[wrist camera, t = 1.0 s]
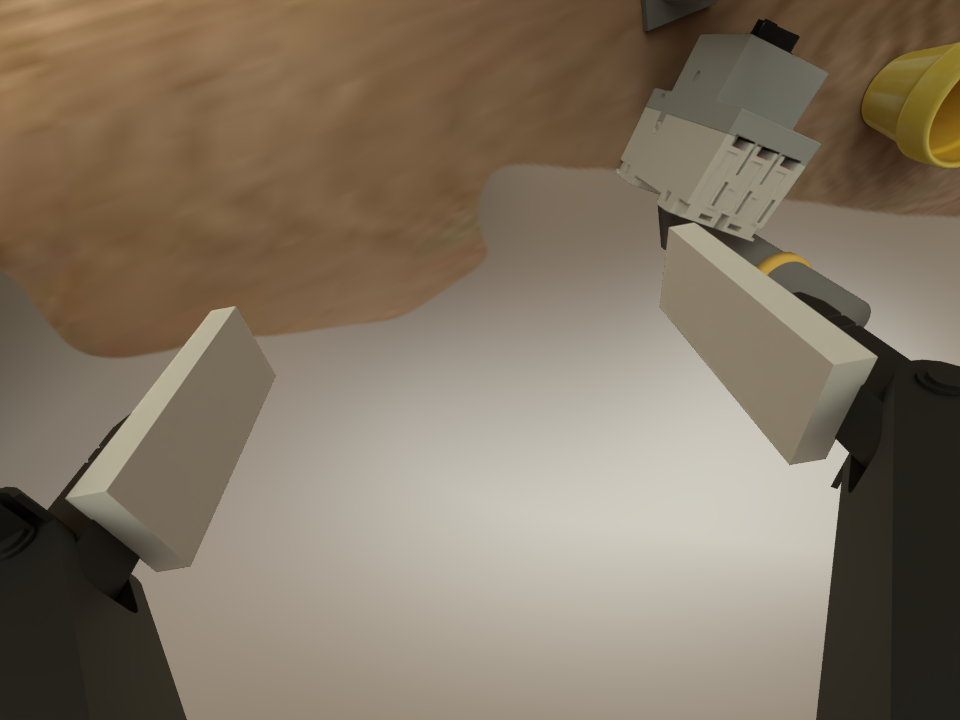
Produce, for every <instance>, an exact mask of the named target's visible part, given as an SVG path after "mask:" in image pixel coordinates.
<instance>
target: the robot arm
mask: <svg viewBox="0 0 960 720" xmlns="http://www.w3.org/2000/svg"><path fill="white" fill-rule="evenodd" d="M660 308H661V309H662V310H663V312H664V313H665V314H666V315H667V316H668V318H669V319H670V320H671V321H672V323H673V324H674V325H675V326H676V327H677V329H678V330H679V331H680V332H681V334H682V335H683V336H684V337H685V338H686V340H687V341H688V342H689V343H690V344H691V346H692V347H693V348H694V349H695V350H696V352H697V353H698V354H699V355H700V357H701V358H702V359H703V360H704V362H705V363H706V364H707V365H708V366H709V368H710V369H711V370H712V371H713V372H714V373H715V375H716V376H717V377H718V379H719V380H720V381H721V382H722V383H723V384H724V386H725V387H726V388H727V389H728V391H729V392H730V393H731V394H732V396H733V397H734V398H735V399H736V400H737V402H738V403H739V404H740V405H741V406H742V408H743V409H744V410H745V411H746V412H747V414H748V415H749V416H750V417H751V419H752V420H753V421H754V422H755V424H756V425H757V426H758V427H759V428H760V430H761V431H762V432H763V433H764V434H765V436H766V437H767V438H768V439H769V441H770V442H771V443H772V444H773V445H774V447H775V448H776V449H777V450H778V451H779V453H780V454H781V455H782V456H783V457H784V459H785V460H786V461H787V462H788V463H789V465H792V464H798V463H804V462H810V461H815V460H822V459H826V457H827V455H828V453H829V451H830V449H831V447H832V446H833V444H834V442H835V440H836V439H837V440H838V441H839V442H840V443H841V444H842V445H843V446H844V448H845V449H846V450H847V451H848V452H849V455H848V456H847V458H846V460H845V462H844V463H843V466H842V467H841V469H840V471H839V472H838V474H837V476H836V478H835V480H834V482H833V484H832V485H831V487H833V488H836V489H838V487H839V485H840V484H841V493H840V502H839V511H838V520H837V530H836V540H835V549H834V558H833V567H832V577H831V586H830V595H829V605H828V615H827V624H826V633H825V642H824V652H823V661H822V671H821V680H820V689H819V699H818V708H817V718H816V720H960V366H956V365H952V364H949V363H945V362H941V361H931V360H914V361H910V360H909V359H908V358H906V357H905V356H903V355H902V354H900V353H899V352H897V351H896V350H895V349H893V348H892V347H890V346H889V345H887V344H886V343H884V342H883V341H882V340H880V339H879V338H877V337H876V336H874V335H873V334H871V333H870V332H868V331H867V330H865V329H864V328H863V327H861V326H860V325H859V326H856V322H854V321H853V320H851V319H850V318H848V317H847V316H845V315H843V316H842V315H841V312H840V311H838V310H837V309H835V308H834V307H832V306H831V305H829V304H828V303H827V302H825V301H824V300H821V299H818V298H816V297H813V296H810V295H808V294H805V293H803V292H795V293H790V292H789V291H787V290H786V289H785V288H783V287H782V286H781V285H779V284H778V283H777V282H775V281H774V280H772V279H771V278H770V277H768V276H767V275H766V274H764V273H763V272H762V271H760V270H759V269H757V268H756V267H755V266H753V265H752V264H751V263H749V262H748V261H747V260H745V259H744V258H742V257H741V256H740V255H738V254H737V253H736V252H734V251H733V250H732V249H730V248H729V247H727V246H726V245H725V244H723V243H722V242H721V241H719V240H718V239H717V238H715V237H714V236H712V235H711V234H710V233H708V232H707V231H706V230H704V229H703V228H702V227H700V226H699V225H697V224H696V223H689V224H684V225H678V226H673V227H669V230H668V239H667V248H666V257H665V265H664V275H663V283H662V292H661V300H660ZM275 377H276V375H275V373H274V371H273V370H272V368H271V366H270V364H269V363H268V361H267V359H266V357H265V356H264V354H263V352H262V350H261V349H260V347H259V345H258V344H257V342H256V340H255V338H254V337H253V335H252V333H251V331H250V330H249V328H248V326H247V324H246V323H245V321H244V319H243V317H242V316H241V314H240V312H239V310H238V309H237V307H236V306H235V307H229V308H224V309H218V310H213V311H211V312H210V313H209V314H208V316H207V317H206V318H205V320H204V321H203V322H202V323H201V325H200V326H199V327H198V329H197V330H196V331H195V332H194V334H193V335H192V336H191V338H190V339H189V340H188V341H187V343H186V344H185V345H184V347H183V348H182V349H181V350H180V352H179V353H178V354H177V356H176V357H175V358H174V359H173V361H172V362H171V363H170V365H169V366H168V367H167V368H166V370H165V371H164V372H163V373H162V375H161V376H160V377H159V379H158V380H157V381H156V383H155V384H154V385H153V387H152V388H151V389H150V390H149V391H148V393H147V394H146V396H145V397H144V398H143V399H142V401H141V402H140V403H139V404H138V406H137V407H136V408H135V409H134V411H133V412H132V413H131V414H129V415H128V416H127V417H126V418H124V419H123V420H122V421H121V422H120V423H118V424H117V425H116V426H115V427H113V429H112V430H111V431H110V432H109V433H108V435H107V436H106V437H105V438H104V440H103V441H102V442H101V443H100V445H99V446H100V448H97V449H96V450H95V451H94V452H93V453H92V455H91V456H90V457H89V459H88V463H84V465H83V466H82V467H81V469H80V470H79V471H78V472H77V474H76V475H75V476H74V477H73V479H72V480H71V481H70V482H69V484H68V485H67V486H66V488H65V489H64V490H63V491H62V492H61V494H60V495H59V496H58V497H57V499H56V500H55V501H54V502H53V504H52V505H51V506H50V507H49V509H48V510H46V509H45V508H43V507H42V506H40V505H39V504H38V503H37V502H35V501H34V500H33V499H31V498H30V497H29V496H27V495H26V494H25V493H23V492H22V491H21V490H19V489H18V488H15V487H4V488H0V720H187V719H186V716H185V713H184V710H183V707H182V704H181V701H180V698H179V695H178V692H177V689H176V686H175V683H174V680H173V677H172V674H171V671H170V668H169V665H168V662H167V659H166V656H165V654H164V651H163V647H162V644H161V641H160V638H159V635H158V632H157V629H156V626H155V623H154V621H153V618H152V615H151V612H150V609H149V606H148V603H147V600H146V597H145V594H144V591H143V588H142V585H141V583H140V582H139V580H138V579H137V578H136V577H134V576H133V575H132V574H131V573H132V571H133V569H134V568H135V565H136V564H137V562H138V560H139V558H140V559H141V560H142V561H143V562H145V563H146V564H147V565H148V566H150V567H151V568H152V569H153V570H155V571H156V572H161V571H166V570H172V569H178V568H184V567H190V566H191V564H192V562H193V560H194V557H195V555H196V553H197V551H198V548H199V546H200V544H201V542H202V540H203V537H204V535H205V533H206V531H207V528H208V526H209V524H210V522H211V519H212V517H213V515H214V513H215V511H216V508H217V506H218V504H219V502H220V499H221V496H222V495H223V493H224V490H225V488H226V486H227V484H228V482H229V479H230V477H231V475H232V473H233V470H234V468H235V466H236V463H237V461H238V459H239V457H240V455H241V453H242V450H243V448H244V445H245V444H246V441H247V439H248V437H249V435H250V432H251V430H252V428H253V426H254V423H255V421H256V419H257V417H258V415H259V412H260V410H261V408H262V405H263V403H264V401H265V399H266V397H267V394H268V392H269V390H270V388H271V385H272V383H273V381H274V378H275ZM841 482H842V483H841Z"/></svg>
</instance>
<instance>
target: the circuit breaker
mask: <svg viewBox="0 0 960 720" xmlns="http://www.w3.org/2000/svg"><path fill="white" fill-rule="evenodd" d="M799 38H800V37H799V36H798V35H796V34H793V33H791V32H789V31H786V30H784V29H782V28H780V27H778V26H777V24H775V23H773V22H771V21H769V20H767V19H765V20H764V21H763V20H760V19H758V21H757V23H756V25H755V26H754V28H753V30H752V32H751V34H701V35H700V36H699V38H698V40H697V42H696V44H695V46H694V48H693V50H692V52H691V54H690V56H689V58H688V60H687V62H686V64H685V66H684V68H683V70H682V72H681V74H680V76H679V78H678V80H677V82H676V84H675V86H674V88H673V90H672V91H667V90H666V91H665V90H662V89H658V88H655V89H654V90H653V93H652V95H651V97H650V99H649V101H648V103H647V105H646V106H647V107H645V109H644V111H643V114H642V116H641V118H640V120H639V122H638V124H637V126H636V128H635V130H634V132H633V135H632V137H631V139H630V141H629V143H628V145H627V147H626V149H625V151H624V153H623V156H622V158H621V160H622V161H623V163H622V165H621V167H620V169H617V168H616V170H615V173H616V174H619V175H620V177H621V178H623V179H624V180H625V181H627V182H628V183H629V184H631V185H634V186H637V187H640V188H643V189H646V190H648V191H651V192H654V193H656V194H659V195H660V196H659V198H658V200H657V202H656V204H657V205H659V206H660V207H662V208H663V209H664V210H666V211H667V212H670V213H673V214H676V215H678V216H680V217H683V218H686V219H689V220H692V221H695V222H698V223H700V224H703V225H706V226H709V227H712V228H715V229H718V230H721V231H723V232H726V233H729V234H732V235H735V236H738V237H741V238H744V239H746V240H749V241H752V242H753V241H754V238H752V236H753V234H754V233H755V232H756V230H757V229H760V230H761V229H762V228H763V227H764V225H765V224H766V222H767V221H768V219H769V218H770V217H771V215H772V214H773V212H774V211H775V210H776V208H777V207H778V205H779V204H780V203H781V201H782V200H783V198H784V197H785V195H786V194H787V193H788V191H789V190H790V188H791V187H792V186H793V184H794V183H795V181H796V180H797V178H798V177H799V176H800V174H801V173H802V171H803V170H804V169H805V167H806V166H807V164H808V163H809V161H810V160H811V159H812V157H813V156H814V154H815V153H816V152H817V150H818V149H819V147H820V146H821V143H819V142H817V141H815V140H812V139H810V138H808V137H806V136H803V135H801V134H799V133H797V132H794V131H792V129H793V128H794V126H795V125H796V123H797V122H798V120H799V119H800V117H801V116H802V114H803V113H804V111H805V109H806V108H807V106H808V105H809V103H810V102H811V100H812V99H813V97H814V96H815V94H816V93H817V91H818V90H819V88H820V87H821V85H822V83H823V82H824V80H825V79H826V77H827V76H828V74H829V73H827V72H825V71H823V70H822V69H820V68H818V67H816V66H814V65H812V64H810V63H808V62H806V61H804V60H802V59H800V58H798V57H796V56H794V55H793V54H792V53H791V51H792V49H793V47H794V46H795V44H796V43H797V41H798V39H799ZM648 107H649V108H648ZM798 163H799V164H798ZM803 165H804V166H803Z"/></svg>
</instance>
